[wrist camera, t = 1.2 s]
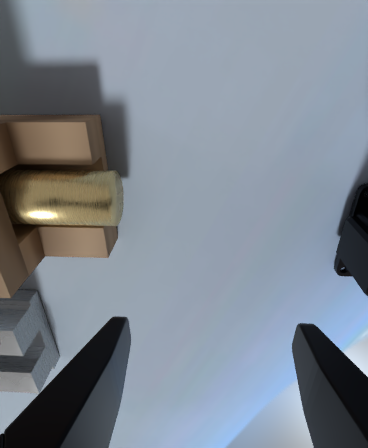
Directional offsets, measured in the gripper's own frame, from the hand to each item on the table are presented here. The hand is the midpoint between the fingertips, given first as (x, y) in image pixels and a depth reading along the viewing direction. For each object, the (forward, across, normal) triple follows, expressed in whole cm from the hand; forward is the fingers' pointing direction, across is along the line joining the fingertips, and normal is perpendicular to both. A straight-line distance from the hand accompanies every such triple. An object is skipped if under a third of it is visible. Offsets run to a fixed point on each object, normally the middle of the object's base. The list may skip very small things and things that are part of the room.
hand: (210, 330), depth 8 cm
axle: (+10, +10, 0) cm, 14 cm away
